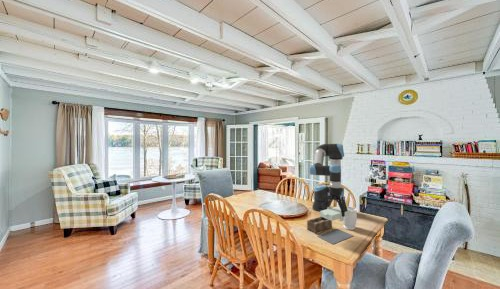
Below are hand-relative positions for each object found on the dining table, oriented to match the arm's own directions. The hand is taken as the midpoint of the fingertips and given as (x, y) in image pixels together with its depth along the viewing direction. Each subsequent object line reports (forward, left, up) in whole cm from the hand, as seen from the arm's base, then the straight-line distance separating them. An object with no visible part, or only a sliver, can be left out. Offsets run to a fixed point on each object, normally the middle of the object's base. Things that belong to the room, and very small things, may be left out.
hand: (335, 218), depth 144 cm
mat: (0, 0, -13) cm, 13 cm away
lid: (0, 0, +2) cm, 2 cm away
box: (0, -14, -13) cm, 19 cm away
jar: (-21, -4, -13) cm, 25 cm away
